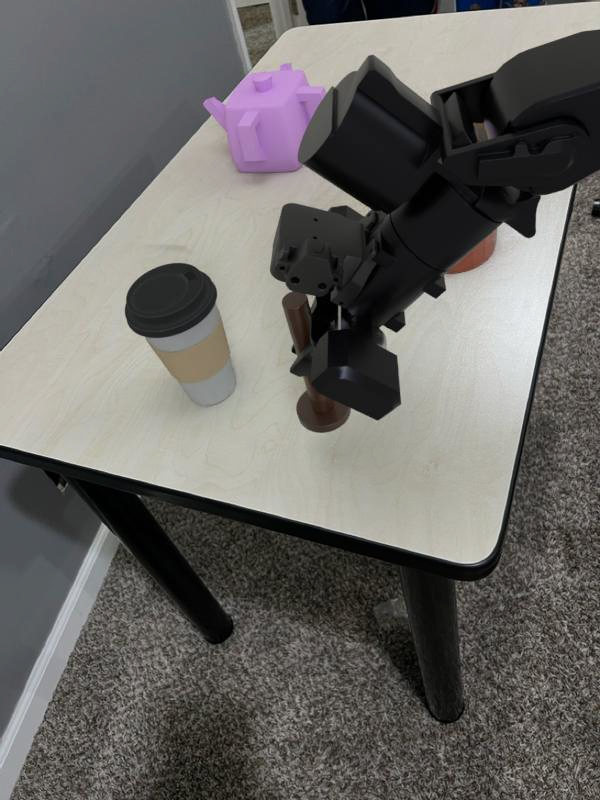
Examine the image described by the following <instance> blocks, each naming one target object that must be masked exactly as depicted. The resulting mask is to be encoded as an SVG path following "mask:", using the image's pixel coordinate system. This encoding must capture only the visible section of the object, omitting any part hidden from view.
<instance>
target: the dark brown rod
mask: <svg viewBox="0 0 600 800" xmlns="http://www.w3.org/2000/svg"><path fill="white" fill-rule="evenodd" d="M308 297H309V296H308V295H307V294H303V293H298V292H294V291H289V292H287V293H286V294H285V295H284V296H283V297H282V299H281V305H282V306H281V307H282V309H283V312H284V316H285V319H286V323H287V327H288V329H289V333H290V337H291V340H292V345H293V344H294V347H295V350H296V354H297V355H296V354H295V355H296V358H297V357H298V355H299V354H300V353H301V352H302V350H303V349H304V348H305V346H306V345H307V344H308V342H309V341H310V331H311V314H312V313H311V309H310V308H311V305H310V301H309V298H308ZM303 381H304V384H305V388H306V390H305V391H304V392H303V393H302V394H301V395H300V397H299V398H298V399H297V402H296V407H295V409H296V410H295V412H296V415H297V418H298V420H299V423H300V424H301V425H302V426H303V428H305V429H306V430H308V431H309V432H312V433H317V434H326V433H330V432H333V431H336V430H338V429H339V428H341V427H342V426H343V425H345V423H347V421H348V420H349V418H350V416H351V412H352V409H351V408H349V407H347V406H345V405H343V404H341V403H339V402H336V401H334V400H332V399H330V398H328V397H326V396H324V395H321V394H319V393H318V392H317V391H316V390H315V388H314V387H313V385H312V384H311V375H308V376H303Z"/></svg>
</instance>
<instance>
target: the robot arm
mask: <svg viewBox="0 0 600 800" xmlns="http://www.w3.org/2000/svg"><path fill="white" fill-rule="evenodd" d="M429 101H430V102H428V101H427V100H425V99H424V98H423V97H421V96H420V95H419V94H418V93H417V92H415V91H414V90H413V89H412V88H411V87H409V86H408V85H406V83H404V82H403V81H401V80H400V79H399V78H398V77H397V76H396V74H395V73H394V71H393V70H392V69H391V68H390V67H389V66H388V65H387V64H386V63H385V62H383V60H381V59H380V58H378V57H377V56H376V55H375V54H369V55H367V56H366V58H365V60H364V61H363V62H362V64H361V65H360V66H359V68H358V69H357V70H352V71H350V72H349V73H348V74H346V75H345V76H344V77H343V78H342V79H340V81H339V82H338V83H337V85H336V86H333V85H331V87H329V89H328V90H327V91H326V95H325V96H324V98H323V99H322V101H321V103H320V104H319V106H318V107H317V109H316V111H315V113H314V114H313V116H312V118H311V120H310V122H309V124H308V126H307V128H306V130H305V133H304V135H303V138H302V140H301V143H300V146H299V150H298V157H297V158H298V162H300V163H301V164H302V166H304V167H306V168H307V169H309V170H310V171H312V172H313V173H315V174H317V175H318V176H319V177H321V178H323V179H324V180H325V181H326V182H328V183H330V184H331V185H333V186H335V187H336V188H338V189H339V190H341V191H342V192H344V193H345V194H347V195H348V196H350V197H352V198H354V199H355V200H356V201H358V202H359V203H361V204H362V205H364V206H365V207H367V208H368V209H370V210H369V211H368V212H367V213H366V214H365V215H363V214H361V213H360V212H358V211H357V210H355V209H353V208H352V207H350V206H348V205H347V204H345V205H337V206H331V207H329V209H328V210H325V209H321V208H316V207H314V206H313V207H312V206H308V205H305V204H300V203H297V202H288V203H285V204H283V205H282V207H281V210H280V215H279V217H278V218H279V219H278V223H277V226H276V229H275V234H274V237H273V242H272V249H271V258H270V265H269V272H270V275H271V276H272V277H273V278H274V279H275V280H277V281H279V282H280V283H281V282H282V283H284V284H285V286H286V287H287V289H288V291H290V292H293V291H294V292H298V293H303V294H306V295H307V296H312V297H314V298H313V301H312V304H311V305H310V309H311V313H312V314H311V331H310V341H309V342H308V344H307V345H306V346H305V348H304V349H303V350H302V352H301V353H300V354H299V355H298V357H297V354H296V350H295V347H294V344H293V343H292V346H291V350H290V351H291V353H292V354H294V355H296V358H295V359H294V361H293V362H292V364H291V366H290V367H289V373H290V374H291V375H294V376H296V377H299V378H301V377H303V376H308V375H311V384H312V385H313V387H314V388H315V390H316V391H317V392H318V393H319V394H321V395H324V396H326V397H328V398H330V399H332V400H334V401H336V402H339V403H341V404H343V405H345V406H347V407H349V408H351V410H354V411H355V412H358V413H360V414H362V415H365V416H366V417H369V418H371V419H373V420H375V421H377V422H378V421H380V420H382V419H383V418H385V417H386V416H388V415H389V414H391V413H392V412H393V411H395V410H396V409H397V408H398V407H400V406H401V405H402V396H401V383H400V371H399V369H400V368H399V361H398V360H399V359H398V354H395V353H394V352H391V351H390V350H388V347H387V346H388V345H387V336H386V334H385V332H384V331H383V330H382V329H381V327H382V326H383V327H385V328H387V329H388V330H390V331H392V332H394V333H396V334H397V333H398V332H400V331H401V330H402V329H403V328H405V326H407V324H406V313H405V311H406V310H407V309H408V308H409V307H410V306H412V305H413V304H414V303H415V302H416V301H417V300H418V299H420V297H422V296H423V295H424V294H427V295H428V296H429V297H431V298H433V299H435V300H437V299H438V298H439V297H440V296H442V295H443V294H444V293H446V291H447V285H446V279H445V275H446V273H447V272H448V271H449V270H451V269H452V268H453V267H454V266H455V265H456V264H457V263H458V262H460V261H461V260H462V259H463V258H464V257H465V256H466V255H467V254H469V253H470V252H471V251H472V250H473V249H474V248H475V247H476V246H478V245H479V244H480V243H481V242H482V241H483V240H484V239H485V238H487V237H488V236H489V235H490V234H491V233H492V232H493V231H494V230H496V229H497V230H498V228H499V227H500V226H501V225H503V224H506V225H507V226H508V227H510V228H511V229H513V231H515V232H517V233H518V234H519V235H521V236H523V237H524V238H525V239H532V238H534V237H535V236H536V234H537V212H538V208H539V207H538V206H539V204H540V201H541V198H542V196H548V195H552V194H554V193H555V194H556V193H559V192H562V191H564V190H566V189H569V188H571V187H572V186H575V185H576V184H578V183H580V182H581V181H583V180H586V179H587V178H589V177H591V176H592V175H595V174H596V173H598V172H599V171H600V29H598V28H597V29H592V30H591V29H589V30H583V31H579V32H575V33H573V34H570V35H566V36H564V37H561V38H558V39H555V40H552V41H548V42H545V43H543V44H540V45H537V46H534V47H531V48H528V49H526V50H524V51H521V52H519V53H517V54H515V55H514V56H512V57H511V58H510V59H508V60H507V61H505V62H504V63H502V65H501V66H500V67H498V69H497V70H496V71H495V72H492V73H488V74H485V75H482V76H479V77H476V78H472V79H469V80H466V81H462V82H460V83H457V84H453V85H450V86H446V87H443V88H441V89H438V90H434V91H433V92H432V93H431V94H430V96H429ZM473 123H484V125H485V129H486V132H487V135H488V139H489V140H486V141H482V142H481V141H479V140H478V139H477V136H476V132H475V128H474V125H473Z"/></svg>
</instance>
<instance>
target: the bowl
mask: <svg viewBox="0 0 600 800" xmlns="http://www.w3.org/2000/svg"><path fill="white" fill-rule="evenodd" d="M497 238H498V228H497V229H496V230H494V231H493V232H492V233H491V234H490V235H489V236H488V237H487V238H485V239H484V240H483V241H482V242H481V243H480V244H479V245H478V246H476V247H475V248H474V249H473V250H472V251H471V252H470V253H469V254H467V255H466V256H465V257H464V258H463V259H462V260H461V261H460V262H458V263H457V264H456V265H455V266H454V267H453V268H452V269H451V270H449V271H448V272H447V273H446V274H447V275H449V274H459V273H463V272H467V271H471V270H473V269H475V268H477V267H480V266H481V265H483V264H484V263H486V262H487V261H488V260H489V259H490V258H491V257H492V256H493V254H494V252H495V249H496V245H497V240H498V239H497ZM446 274H445V275H446Z"/></svg>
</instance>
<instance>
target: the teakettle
mask: <svg viewBox="0 0 600 800" xmlns="http://www.w3.org/2000/svg"><path fill="white" fill-rule="evenodd" d="M326 93H327V91H326V88H325V85H324V86H323V85H321V86H317V85H315V86H314V85H313V86H310V83H309V80H308V78H307V76H306V74H305V72H304V70H302V69H293V66H292V62H283V63H282V64H280V65H279V70H270V71H268V70H267V71H259V72H250V73H249V74H247V75H246V76H245V77H244V78H243V79H242V80H241V81H240V82H239V84H238V85H237V86H236V87H235V89H234V90H233V92H232V93H231V94H230V96H229V98H228V99H227V101H226V102H225V103H226V104H225V103H223V102H222V101H220V100H218V99H217V98H216V97H215V96H212V97H209V98H207V99H205V100H204V102H203V103H202V105H203V107H204V108H205V109H206V110H207V112H208V113H209V114H210V115H211V116H212V117H213V118H214V121H216V122H217V124H219V125H220V127H221V128H222V129H223V130H224V131H225V133H226V139H227V144H228V147H229V153H230V157H231V160H232V162H233V164H234V165H235V167H236V169H237V170H238V171H239V172H241V173H291V172H295V171H298V170H299V169H300V168H301V167H302V166H303V164H301V163H300V162H298V158H297V157H298V150H299V146H300V143H301V140H302V138H303V135H304V133H305V130H306V128H307V126H308V124H309V122H310V120H311V118H312V116H313V114H314V113H315V111H316V109H317V107H318V106H319V104H320V103H321V101H322V99H323V98H324V96H325V95H326Z"/></svg>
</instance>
